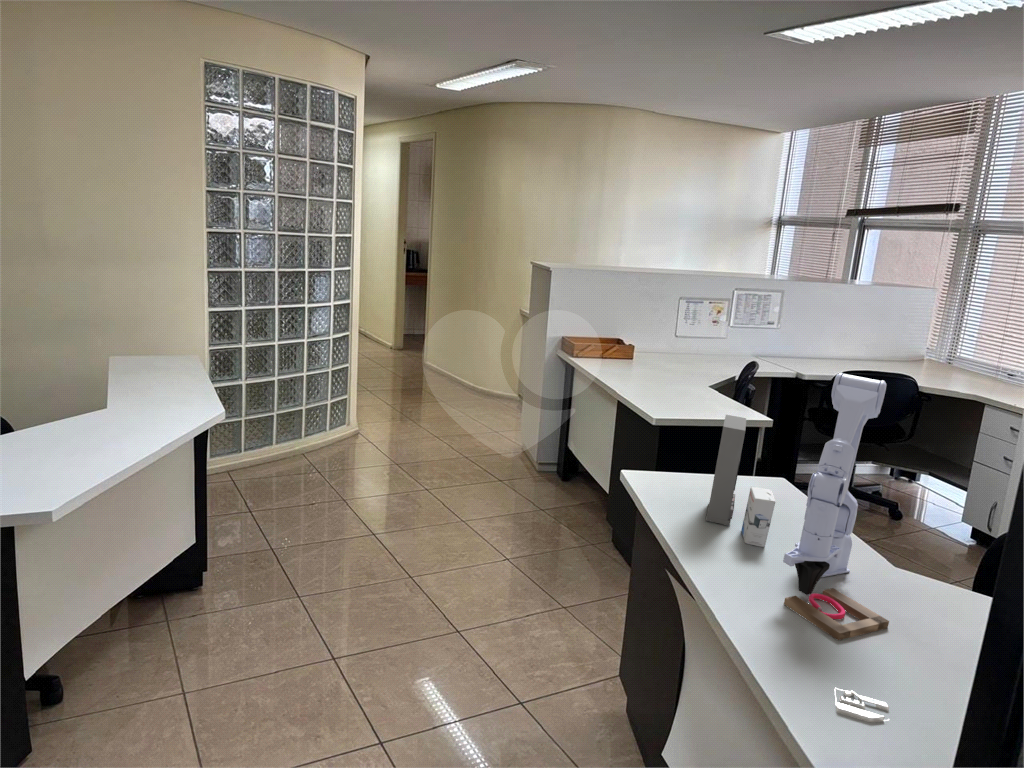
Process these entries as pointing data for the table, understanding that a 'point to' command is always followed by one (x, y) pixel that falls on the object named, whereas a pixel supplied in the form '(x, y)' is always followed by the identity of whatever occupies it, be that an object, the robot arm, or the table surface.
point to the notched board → (832, 627)
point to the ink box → (758, 516)
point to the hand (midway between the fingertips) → (804, 592)
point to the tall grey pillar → (726, 471)
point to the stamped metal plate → (857, 712)
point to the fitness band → (830, 600)
